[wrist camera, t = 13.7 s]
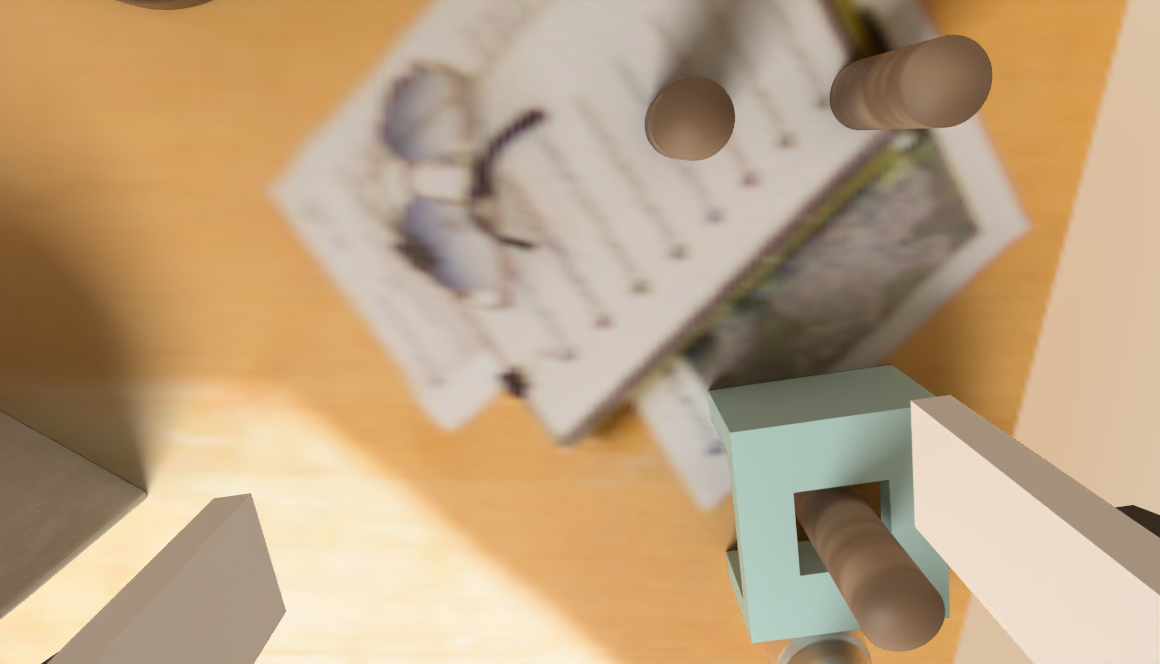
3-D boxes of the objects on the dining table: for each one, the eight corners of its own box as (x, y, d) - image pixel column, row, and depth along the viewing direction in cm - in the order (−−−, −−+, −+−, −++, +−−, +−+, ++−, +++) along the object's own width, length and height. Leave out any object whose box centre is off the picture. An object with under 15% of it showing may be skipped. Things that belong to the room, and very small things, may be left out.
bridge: (708, 390, 47) (729, 432, 40) (891, 364, 47) (945, 402, 40) (728, 576, 51) (751, 643, 44) (899, 553, 50) (949, 617, 44)
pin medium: (827, 64, 42) (902, 42, 32) (896, 53, 42) (992, 28, 32) (831, 134, 43) (905, 133, 33) (898, 124, 43) (992, 120, 33)
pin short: (642, 91, 42) (652, 81, 36) (711, 85, 42) (733, 74, 36) (646, 161, 43) (657, 163, 37) (713, 155, 43) (735, 157, 36)
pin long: (774, 452, 48) (858, 585, 34) (834, 443, 48) (944, 573, 34) (779, 505, 49) (863, 656, 35) (837, 497, 49) (946, 646, 35)
